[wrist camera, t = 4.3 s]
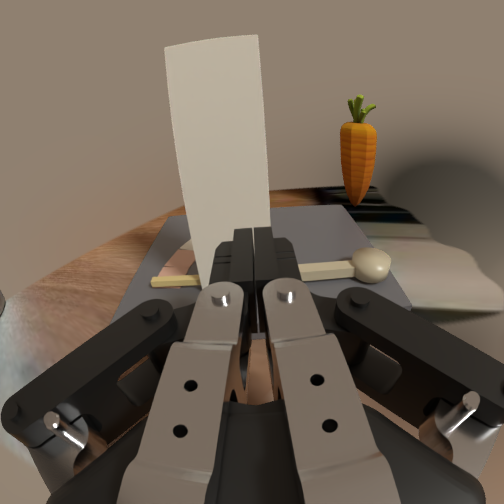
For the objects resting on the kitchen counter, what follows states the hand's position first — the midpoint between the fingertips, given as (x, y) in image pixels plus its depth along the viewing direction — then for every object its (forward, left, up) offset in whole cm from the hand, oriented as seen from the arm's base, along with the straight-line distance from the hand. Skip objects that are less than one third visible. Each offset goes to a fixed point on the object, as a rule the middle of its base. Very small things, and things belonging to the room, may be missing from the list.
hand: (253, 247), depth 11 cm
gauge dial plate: (0, +11, -8) cm, 14 cm away
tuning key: (+1, +6, -6) cm, 9 cm away
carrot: (+13, +23, -8) cm, 28 cm away
